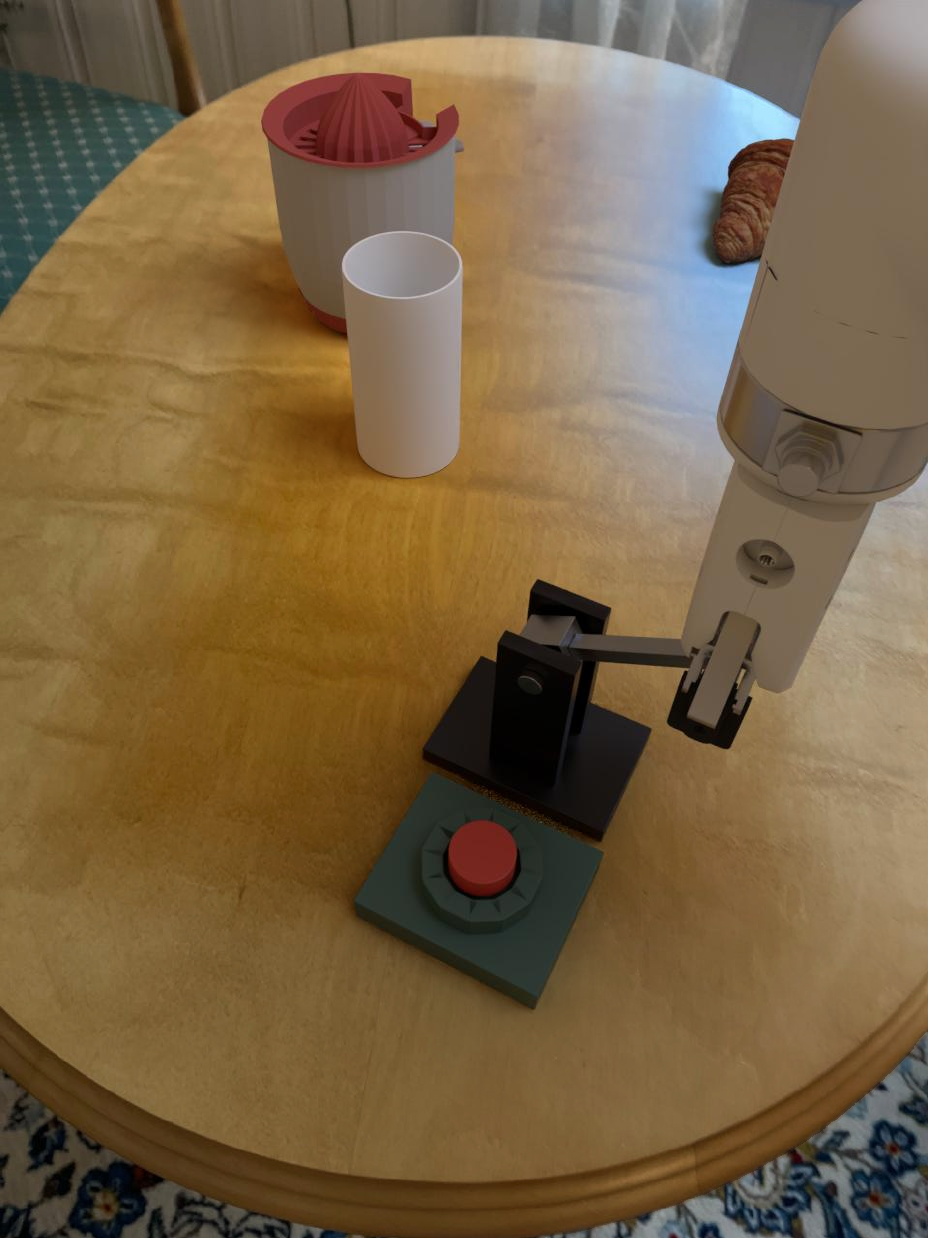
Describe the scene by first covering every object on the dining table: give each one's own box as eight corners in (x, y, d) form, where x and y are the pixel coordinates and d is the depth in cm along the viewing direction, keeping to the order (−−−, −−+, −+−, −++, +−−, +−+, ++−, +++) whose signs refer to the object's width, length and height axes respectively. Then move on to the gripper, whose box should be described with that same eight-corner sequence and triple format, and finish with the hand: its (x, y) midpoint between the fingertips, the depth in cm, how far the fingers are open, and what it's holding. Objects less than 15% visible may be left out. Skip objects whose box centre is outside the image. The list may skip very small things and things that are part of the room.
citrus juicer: (505, 303, 90) (519, 76, 75) (352, 377, 83) (332, 143, 68) (403, 231, 98) (395, 10, 82) (254, 293, 91) (215, 65, 75)
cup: (337, 437, 79) (317, 257, 66) (416, 396, 82) (412, 217, 69) (399, 493, 75) (390, 314, 62) (480, 447, 78) (487, 268, 65)
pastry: (871, 272, 95) (901, 193, 88) (713, 267, 95) (733, 188, 88) (834, 183, 105) (859, 107, 99) (692, 179, 105) (708, 102, 99)
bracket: (649, 739, 62) (689, 614, 52) (601, 842, 57) (635, 728, 47) (480, 666, 65) (487, 535, 55) (422, 759, 60) (418, 635, 50)
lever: (765, 638, 48) (754, 602, 47) (735, 714, 45) (722, 678, 44) (556, 627, 55) (541, 596, 54) (519, 692, 53) (502, 661, 51)
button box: (599, 867, 56) (608, 837, 53) (534, 1010, 51) (540, 986, 48) (432, 788, 59) (431, 755, 56) (355, 916, 54) (350, 887, 51)
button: (526, 851, 53) (528, 838, 52) (496, 908, 51) (498, 895, 50) (467, 823, 54) (467, 809, 53) (436, 878, 52) (436, 864, 51)
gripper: (887, 607, 28) (738, 865, 43) (982, 305, 38) (834, 599, 52) (647, 519, 30) (581, 793, 45) (793, 253, 40) (700, 550, 54)
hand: (718, 686), depth 48 cm, fingers closed on lever, 5 cm apart
